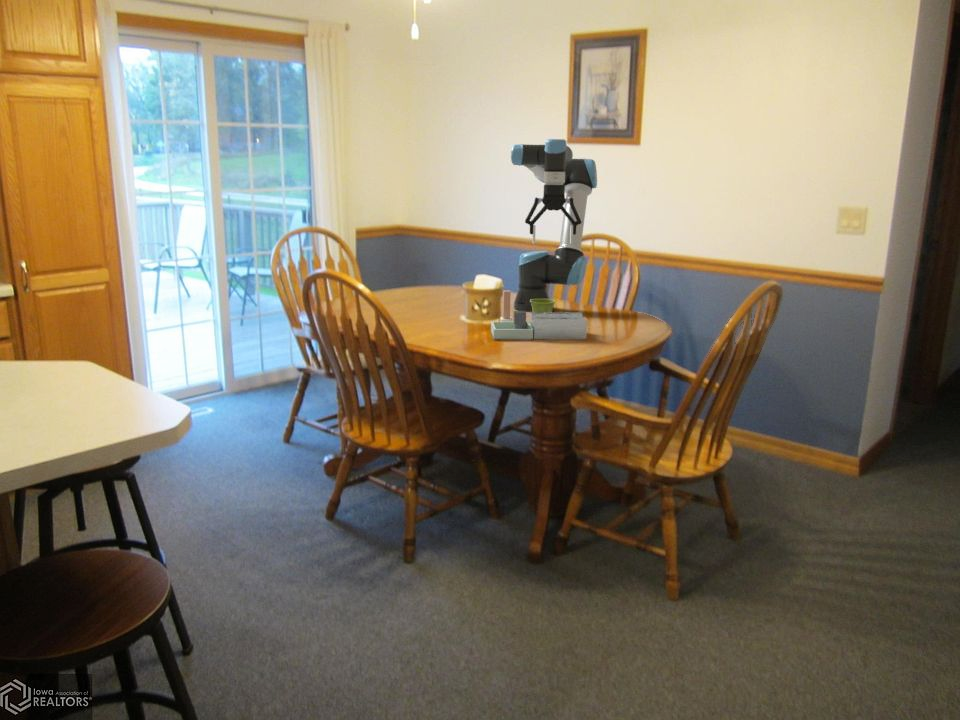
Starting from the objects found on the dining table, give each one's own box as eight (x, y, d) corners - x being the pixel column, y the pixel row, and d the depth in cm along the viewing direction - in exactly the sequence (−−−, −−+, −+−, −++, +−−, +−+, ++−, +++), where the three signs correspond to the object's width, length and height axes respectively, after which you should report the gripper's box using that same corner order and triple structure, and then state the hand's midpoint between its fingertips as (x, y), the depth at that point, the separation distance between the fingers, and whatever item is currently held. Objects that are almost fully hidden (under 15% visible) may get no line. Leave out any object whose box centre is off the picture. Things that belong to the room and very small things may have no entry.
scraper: (500, 326, 294) (500, 289, 291) (511, 326, 294) (511, 289, 291) (501, 329, 289) (501, 292, 286) (512, 329, 289) (513, 292, 286)
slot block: (530, 331, 286) (530, 312, 284) (580, 331, 287) (581, 312, 285) (534, 339, 274) (534, 319, 272) (586, 339, 275) (587, 319, 273)
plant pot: (537, 320, 306) (538, 297, 304) (558, 323, 301) (559, 300, 298) (524, 323, 298) (525, 301, 296) (546, 327, 293) (546, 303, 291)
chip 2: (526, 333, 281) (514, 333, 281) (526, 322, 280) (515, 322, 280) (527, 335, 277) (516, 335, 277) (528, 324, 276) (516, 324, 276)
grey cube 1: (513, 321, 280) (513, 310, 279) (524, 321, 280) (525, 310, 279) (514, 324, 276) (514, 312, 275) (525, 324, 276) (526, 312, 275)
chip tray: (490, 331, 285) (491, 321, 284) (528, 331, 286) (528, 321, 285) (493, 339, 273) (493, 329, 272) (532, 339, 273) (533, 329, 273)
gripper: (520, 184, 282) (518, 244, 287) (590, 184, 282) (588, 245, 288) (518, 183, 289) (517, 242, 295) (587, 183, 289) (585, 242, 295)
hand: (552, 243), depth 291 cm, fingers open, 13 cm apart
